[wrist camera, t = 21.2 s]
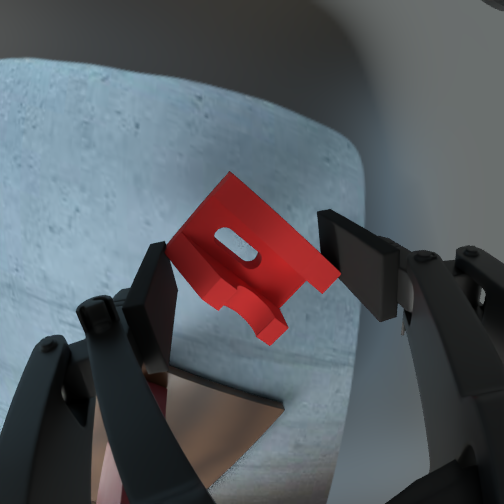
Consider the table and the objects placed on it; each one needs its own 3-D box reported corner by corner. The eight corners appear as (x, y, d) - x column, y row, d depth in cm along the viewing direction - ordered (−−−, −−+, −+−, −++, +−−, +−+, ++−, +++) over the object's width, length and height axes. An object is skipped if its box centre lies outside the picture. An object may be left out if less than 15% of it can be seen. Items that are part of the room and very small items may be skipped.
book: (167, 388, 23) (164, 576, 8) (129, 452, 26) (119, 589, 11) (139, 377, 23) (116, 567, 8) (106, 444, 25) (87, 581, 10)
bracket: (319, 252, 17) (341, 273, 14) (259, 315, 18) (270, 345, 15) (229, 171, 15) (236, 177, 12) (166, 245, 16) (159, 267, 13)
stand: (282, 402, 27) (285, 410, 27) (169, 515, 33) (169, 521, 33) (104, 336, 22) (101, 343, 22) (58, 481, 28) (57, 487, 27)
